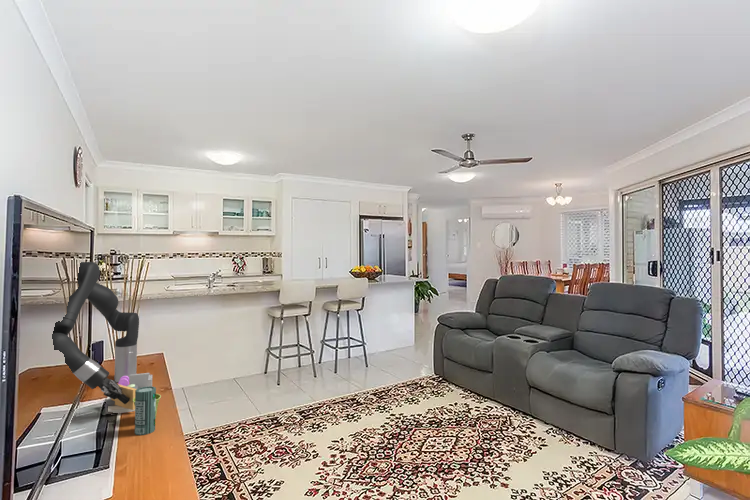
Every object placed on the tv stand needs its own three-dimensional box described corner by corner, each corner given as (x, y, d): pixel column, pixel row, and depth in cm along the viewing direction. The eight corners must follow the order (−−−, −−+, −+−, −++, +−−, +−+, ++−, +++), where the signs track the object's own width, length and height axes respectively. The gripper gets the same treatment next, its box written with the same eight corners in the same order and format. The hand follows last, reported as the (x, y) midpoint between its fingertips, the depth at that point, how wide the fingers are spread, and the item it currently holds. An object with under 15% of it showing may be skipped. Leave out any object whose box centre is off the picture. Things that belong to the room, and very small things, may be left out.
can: (158, 428, 146) (159, 387, 146) (145, 436, 140) (146, 392, 140) (144, 426, 148) (144, 385, 148) (130, 434, 142) (131, 391, 142)
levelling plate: (108, 397, 175) (109, 375, 175) (157, 391, 184) (157, 370, 184) (101, 415, 156) (101, 391, 156) (155, 408, 165) (155, 384, 165)
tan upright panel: (103, 404, 164) (103, 384, 164) (115, 400, 168) (116, 381, 168) (128, 411, 156) (128, 391, 156) (140, 407, 161) (141, 387, 161)
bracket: (117, 395, 179) (118, 379, 179) (119, 391, 184) (119, 376, 184) (151, 391, 184) (151, 376, 184) (152, 387, 189) (152, 372, 189)
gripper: (97, 370, 148) (134, 399, 153) (103, 361, 160) (137, 388, 165) (78, 386, 146) (117, 415, 151) (86, 376, 158) (121, 403, 163)
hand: (127, 401), depth 158 cm, fingers closed
